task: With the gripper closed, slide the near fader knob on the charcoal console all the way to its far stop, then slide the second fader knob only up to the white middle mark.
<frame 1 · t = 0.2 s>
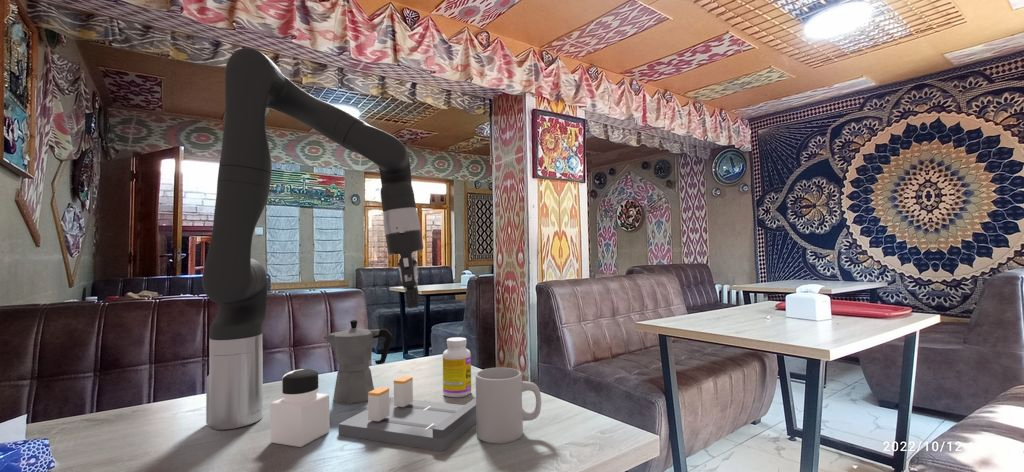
hand: (414, 305, 96), 22 cm above the table, tool pointing down, fingers open, 8 cm apart
medicine bottle: (300, 438, 82), on the table
coffeepot: (359, 398, 104), on the table
console: (413, 425, 86), on the table
mug: (509, 435, 81), on the table
supplement bottle: (457, 394, 105), on the table
fader near: (378, 404, 84), point 5 cm above the table, slide at 0.0 cm
fader far: (403, 391, 92), point 5 cm above the table, slide at 0.0 cm
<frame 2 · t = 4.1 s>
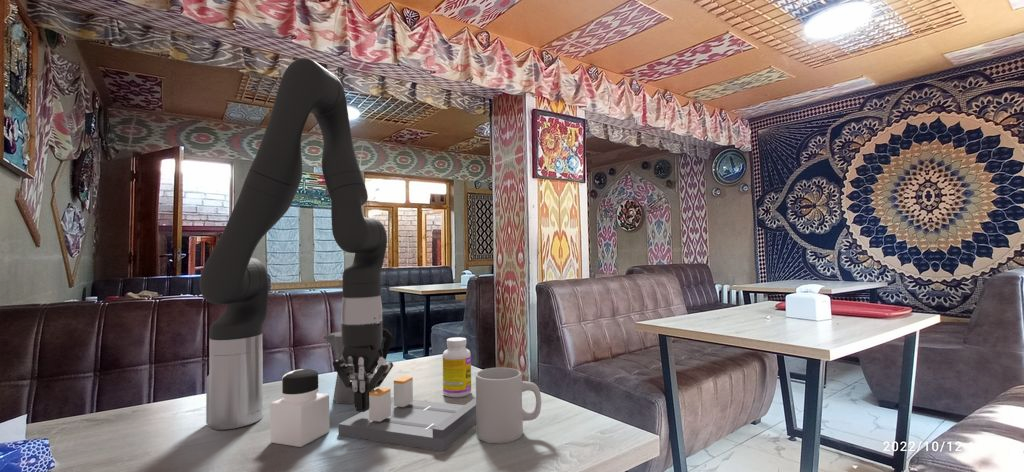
hand: (362, 410, 85), 3 cm above the table, tool pointing down, fingers closed
fader near: (380, 404, 84), point 5 cm above the table, slide at 0.3 cm, touching gripper
everything else where it was.
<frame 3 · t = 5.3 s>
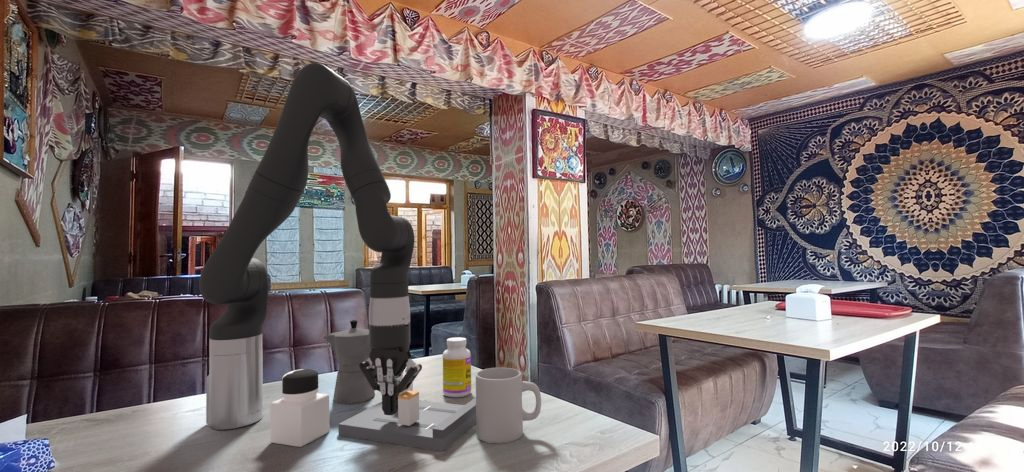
hand: (390, 413, 83), 3 cm above the table, tool pointing down, fingers closed
fader near: (408, 407, 82), point 5 cm above the table, slide at 6.7 cm, touching gripper
everything else where it was.
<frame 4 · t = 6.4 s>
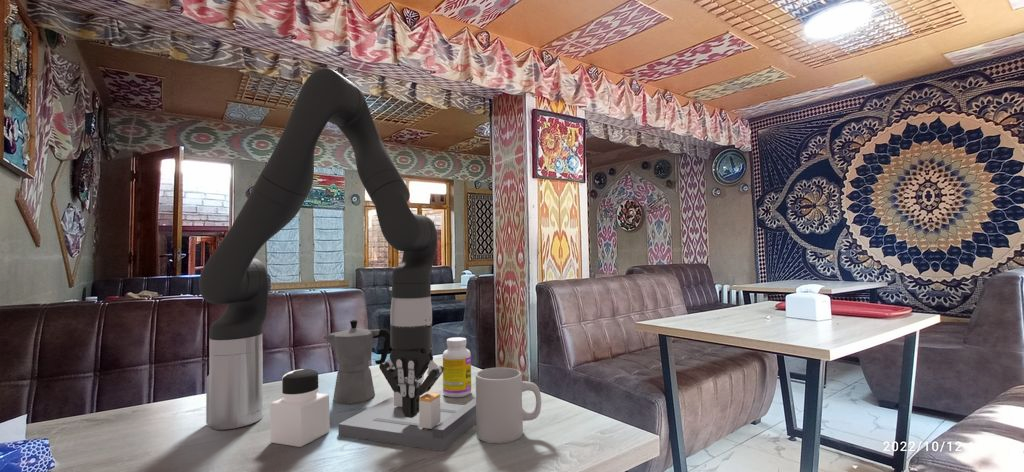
hand: (411, 416, 82), 3 cm above the table, tool pointing down, fingers closed
fader near: (429, 410, 80), point 5 cm above the table, slide at 11.1 cm, touching gripper
everything else where it was.
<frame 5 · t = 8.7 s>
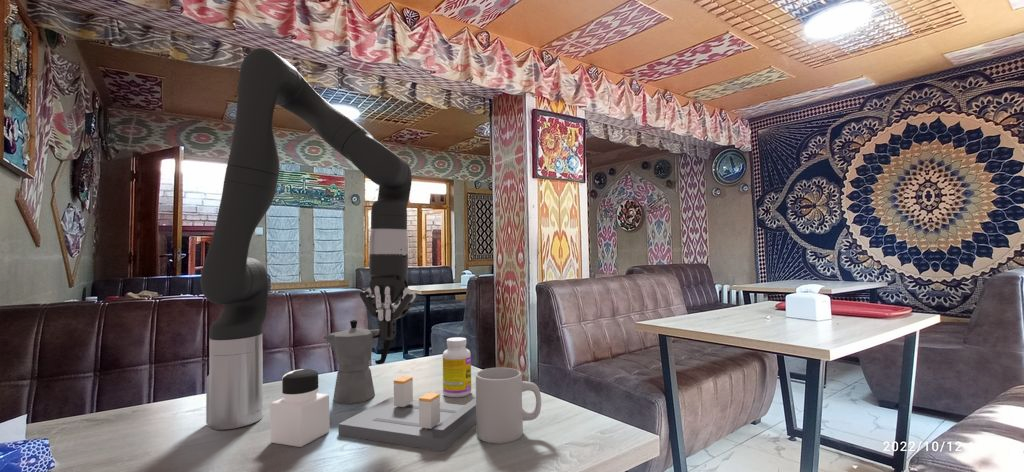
hand: (387, 339, 89), 16 cm above the table, tool pointing down, fingers closed
fader near: (429, 410, 80), point 5 cm above the table, slide at 11.0 cm
everything else where it was.
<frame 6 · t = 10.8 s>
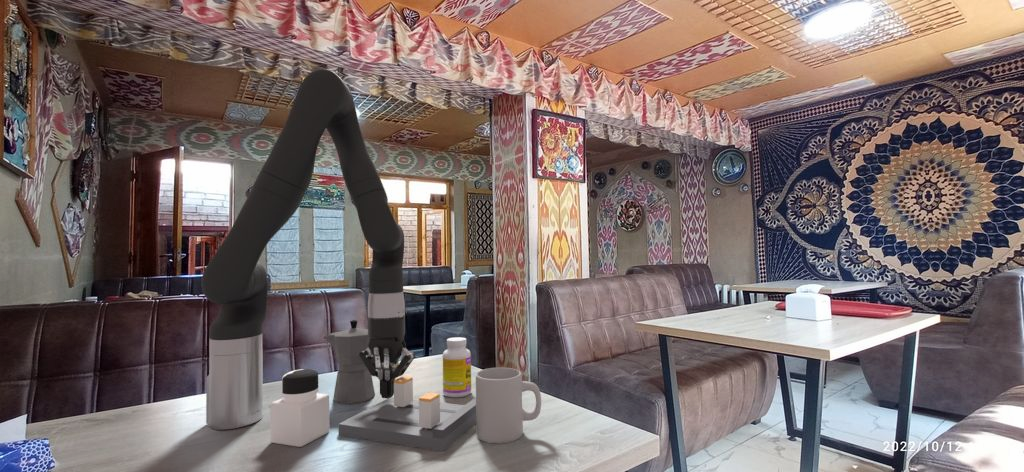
hand: (387, 397, 93), 3 cm above the table, tool pointing down, fingers closed
fader far: (403, 391, 92), point 5 cm above the table, slide at 0.0 cm, touching gripper
everything else where it was.
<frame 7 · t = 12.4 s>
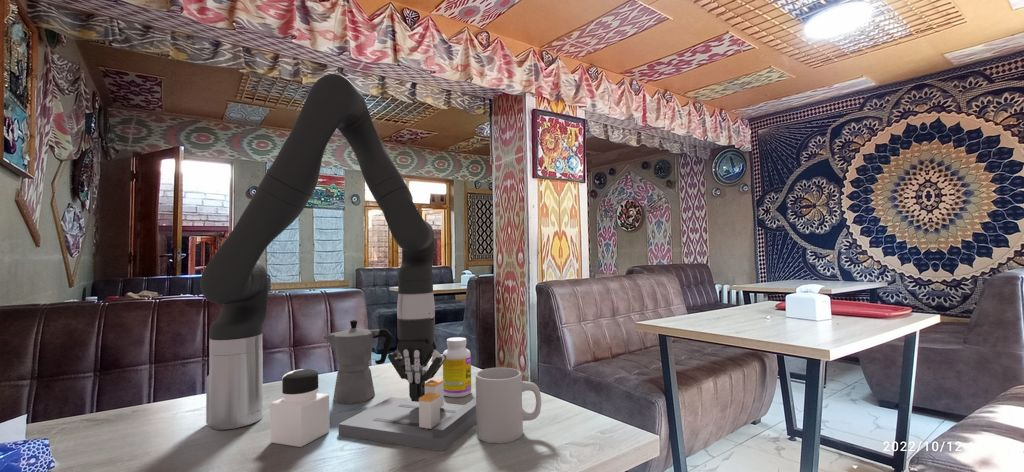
hand: (417, 400, 90), 3 cm above the table, tool pointing down, fingers closed
fader far: (434, 394, 89), point 5 cm above the table, slide at 7.3 cm, touching gripper
everything else where it was.
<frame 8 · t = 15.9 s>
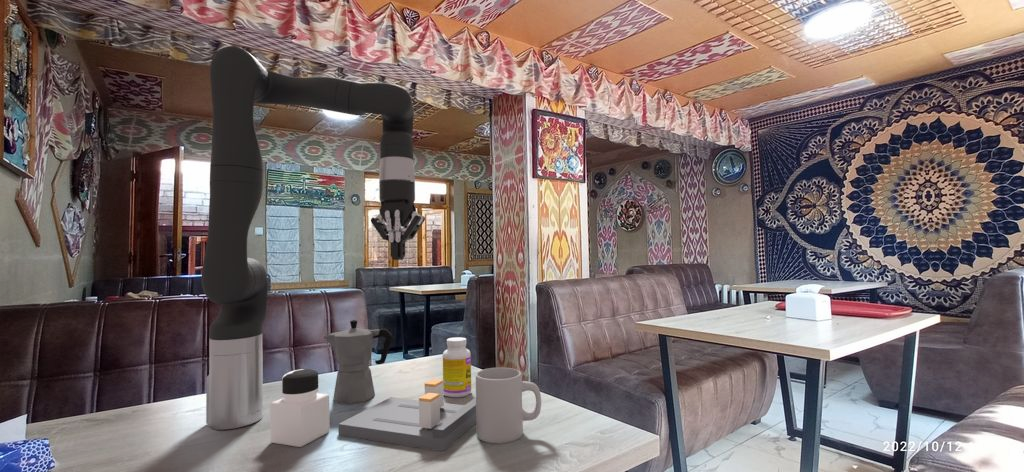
hand: (398, 259, 96), 32 cm above the table, tool pointing down, fingers closed
fader far: (434, 394, 89), point 5 cm above the table, slide at 7.3 cm
everything else where it was.
at the end: fader near slide at 11.0 cm; fader far slide at 7.3 cm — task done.
